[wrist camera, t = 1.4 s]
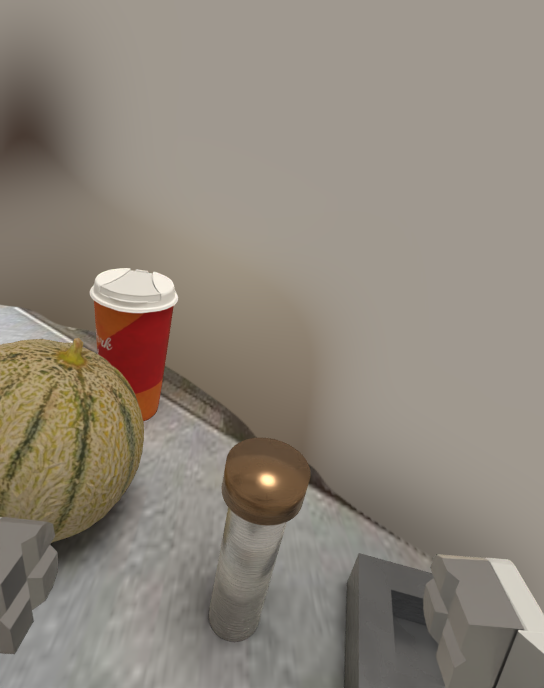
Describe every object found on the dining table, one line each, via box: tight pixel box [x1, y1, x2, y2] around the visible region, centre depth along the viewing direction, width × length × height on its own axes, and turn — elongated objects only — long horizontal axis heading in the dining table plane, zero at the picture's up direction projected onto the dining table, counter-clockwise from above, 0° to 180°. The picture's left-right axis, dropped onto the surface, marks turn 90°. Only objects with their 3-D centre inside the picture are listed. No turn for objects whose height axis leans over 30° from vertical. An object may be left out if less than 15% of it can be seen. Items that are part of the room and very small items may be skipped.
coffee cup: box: [90, 268, 178, 421], centre depth 46 cm, size 8×8×15 cm
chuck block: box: [344, 553, 446, 688], centre depth 29 cm, size 13×10×4 cm
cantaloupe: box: [0, 338, 144, 543], centre depth 33 cm, size 15×15×15 cm
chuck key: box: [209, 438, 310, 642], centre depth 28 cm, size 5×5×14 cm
